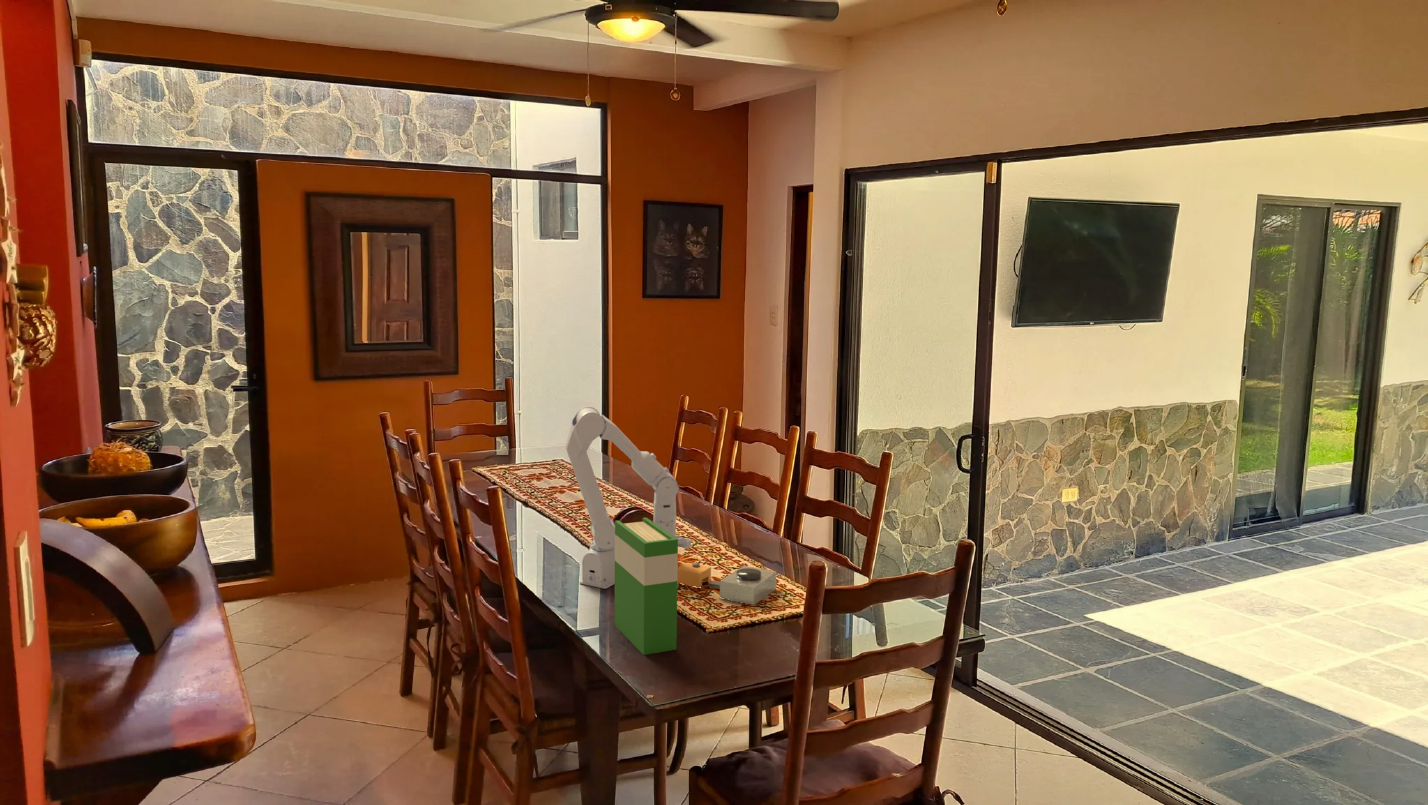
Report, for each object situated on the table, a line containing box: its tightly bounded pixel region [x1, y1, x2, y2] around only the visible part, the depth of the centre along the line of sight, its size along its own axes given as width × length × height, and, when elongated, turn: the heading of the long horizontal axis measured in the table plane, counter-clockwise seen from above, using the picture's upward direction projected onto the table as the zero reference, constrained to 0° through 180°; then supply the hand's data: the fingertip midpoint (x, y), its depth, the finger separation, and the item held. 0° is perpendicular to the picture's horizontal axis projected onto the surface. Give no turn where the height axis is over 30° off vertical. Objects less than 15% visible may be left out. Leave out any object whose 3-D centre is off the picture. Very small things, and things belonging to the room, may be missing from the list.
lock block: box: [677, 562, 712, 587], centre depth 243 cm, size 6×7×5 cm
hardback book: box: [613, 517, 679, 656], centre depth 208 cm, size 18×7×24 cm, turn 26°
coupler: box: [707, 565, 777, 606], centre depth 238 cm, size 13×15×6 cm
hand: (664, 571), depth 247 cm, fingers closed
